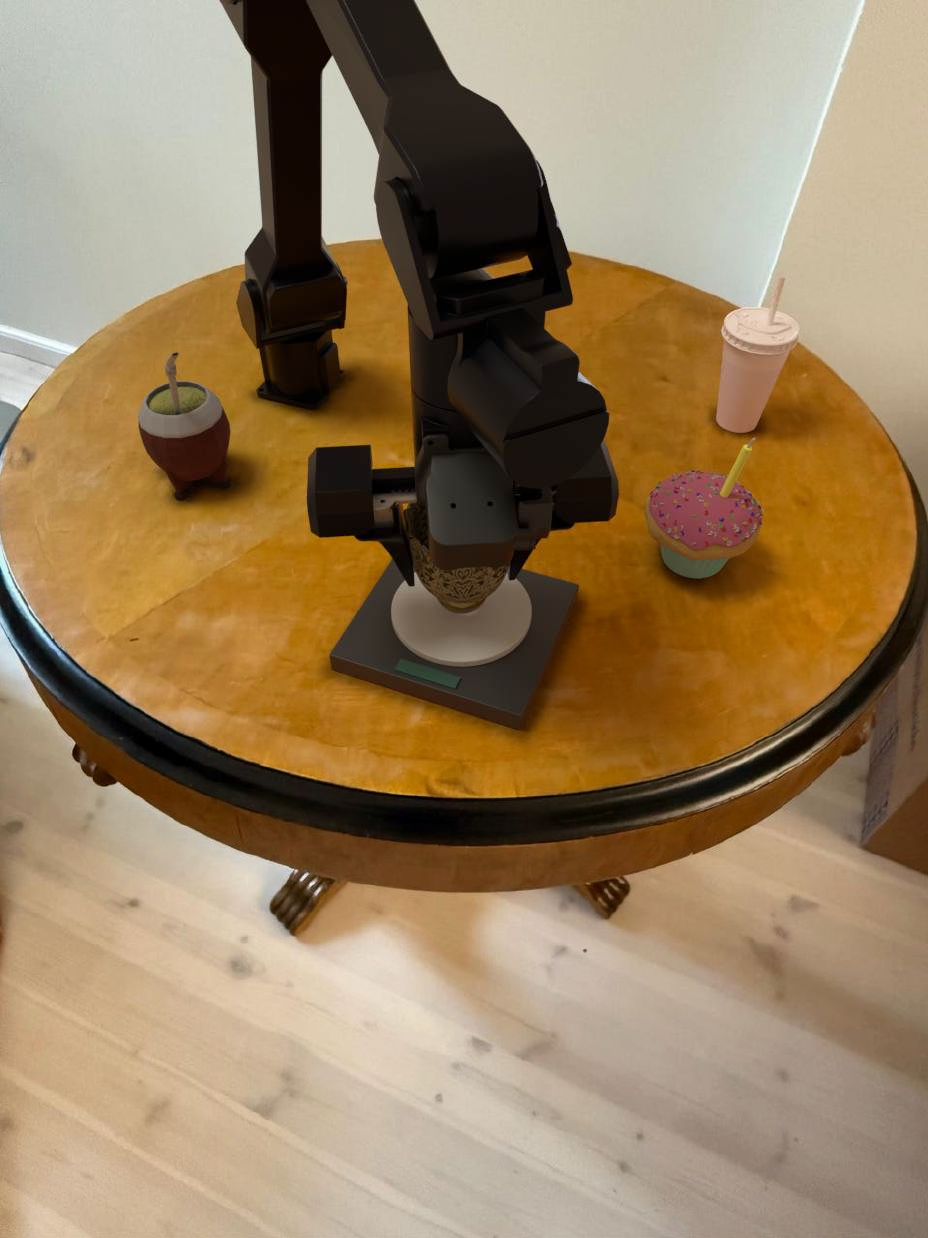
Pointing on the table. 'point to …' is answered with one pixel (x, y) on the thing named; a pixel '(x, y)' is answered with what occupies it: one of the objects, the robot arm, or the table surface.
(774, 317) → the smoothie
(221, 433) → the mate gourd
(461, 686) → the scale
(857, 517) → the table surface
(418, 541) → the cup
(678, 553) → the cupcake
